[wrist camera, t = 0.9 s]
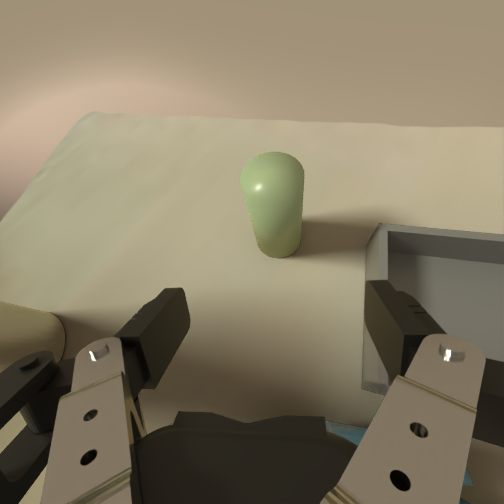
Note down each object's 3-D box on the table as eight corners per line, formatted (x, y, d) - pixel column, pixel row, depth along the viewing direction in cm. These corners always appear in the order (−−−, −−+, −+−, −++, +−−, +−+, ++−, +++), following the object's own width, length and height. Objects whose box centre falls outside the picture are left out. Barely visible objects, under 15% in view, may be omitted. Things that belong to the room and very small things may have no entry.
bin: (361, 388, 23) (377, 393, 19) (366, 245, 29) (379, 223, 24) (603, 441, 20) (695, 463, 15) (556, 266, 25) (613, 244, 21)
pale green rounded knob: (253, 255, 30) (233, 200, 20) (261, 217, 32) (247, 150, 22) (297, 260, 29) (299, 206, 19) (303, 221, 31) (307, 153, 21)
